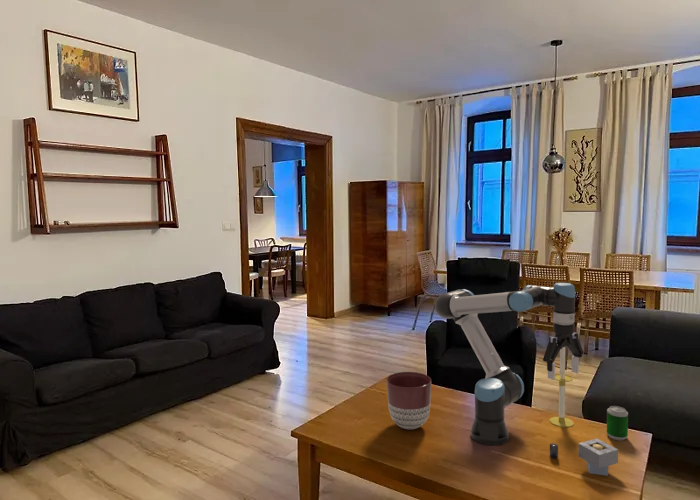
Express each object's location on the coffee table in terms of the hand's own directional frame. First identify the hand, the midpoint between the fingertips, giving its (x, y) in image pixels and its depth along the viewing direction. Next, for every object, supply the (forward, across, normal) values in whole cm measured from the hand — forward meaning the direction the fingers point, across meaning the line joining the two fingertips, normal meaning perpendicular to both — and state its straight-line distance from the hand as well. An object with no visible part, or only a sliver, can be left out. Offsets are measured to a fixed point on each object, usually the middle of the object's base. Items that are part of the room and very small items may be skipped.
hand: (563, 375), depth 190 cm
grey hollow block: (+25, -4, -18) cm, 31 cm away
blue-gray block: (+29, -4, -18) cm, 34 cm away
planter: (+29, -43, +44) cm, 68 cm away
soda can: (+29, +25, -6) cm, 39 cm away
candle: (+29, +17, +14) cm, 36 cm away
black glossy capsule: (+29, -10, -4) cm, 31 cm away
